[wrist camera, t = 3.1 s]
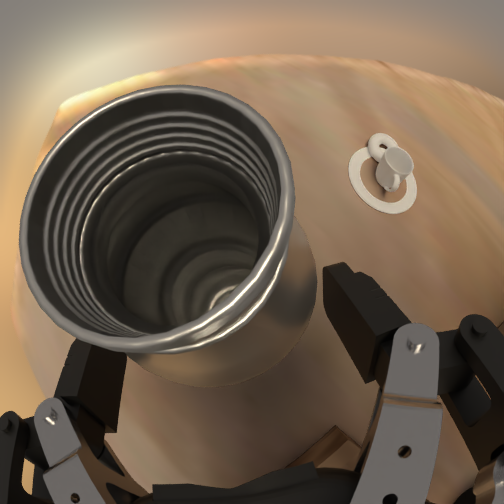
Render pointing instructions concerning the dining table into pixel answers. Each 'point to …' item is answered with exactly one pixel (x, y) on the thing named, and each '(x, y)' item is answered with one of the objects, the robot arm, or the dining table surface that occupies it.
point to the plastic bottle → (172, 236)
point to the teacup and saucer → (385, 173)
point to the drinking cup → (467, 497)
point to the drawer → (331, 452)
